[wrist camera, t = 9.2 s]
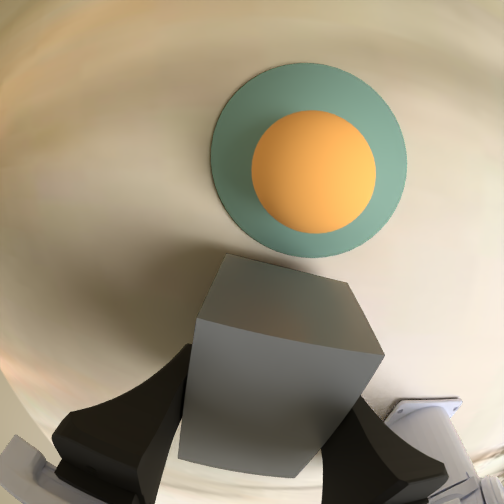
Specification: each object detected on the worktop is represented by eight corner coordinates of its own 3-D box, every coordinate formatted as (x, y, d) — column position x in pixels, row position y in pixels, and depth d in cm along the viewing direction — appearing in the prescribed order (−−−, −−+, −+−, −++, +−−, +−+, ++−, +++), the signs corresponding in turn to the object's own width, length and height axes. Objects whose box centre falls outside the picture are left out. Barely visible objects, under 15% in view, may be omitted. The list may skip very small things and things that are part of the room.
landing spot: (373, 275, 15) (374, 276, 14) (193, 230, 15) (193, 231, 14) (420, 103, 12) (421, 103, 11) (238, 46, 11) (237, 45, 11)
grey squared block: (291, 404, 16) (294, 478, 11) (199, 385, 16) (177, 458, 11) (347, 282, 13) (385, 355, 8) (226, 253, 13) (196, 317, 8)
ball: (411, 138, 7) (368, 124, 12) (257, 97, 7) (266, 99, 12) (367, 268, 10) (343, 216, 14) (234, 243, 10) (249, 196, 14)
